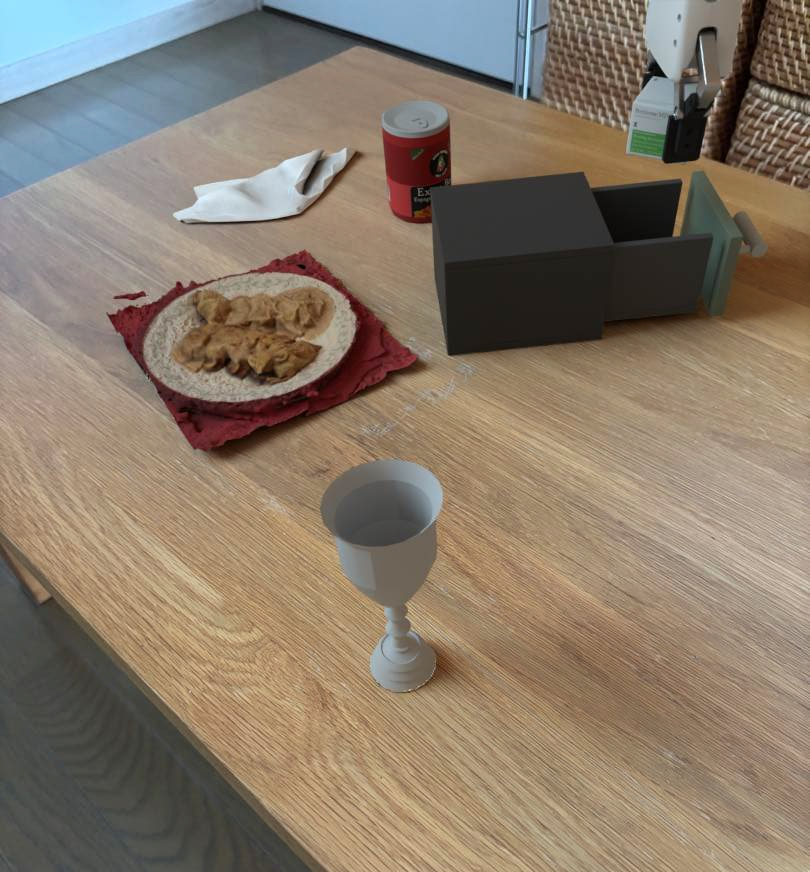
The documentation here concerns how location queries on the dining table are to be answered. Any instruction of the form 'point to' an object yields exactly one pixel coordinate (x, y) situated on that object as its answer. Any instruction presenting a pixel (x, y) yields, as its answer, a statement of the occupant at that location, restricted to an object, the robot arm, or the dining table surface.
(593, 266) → the cabinet
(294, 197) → the cloth
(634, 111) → the small box
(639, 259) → the drawer
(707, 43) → the robot arm
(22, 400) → the dining table surface
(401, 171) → the canned food
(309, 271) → the plate with food
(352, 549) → the chalice
